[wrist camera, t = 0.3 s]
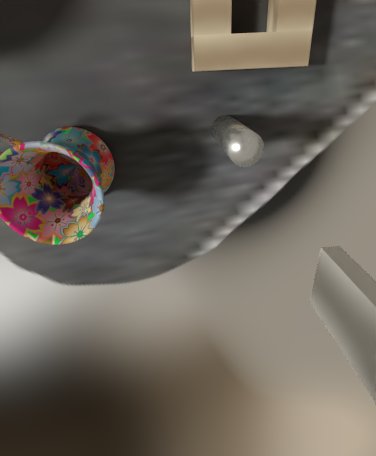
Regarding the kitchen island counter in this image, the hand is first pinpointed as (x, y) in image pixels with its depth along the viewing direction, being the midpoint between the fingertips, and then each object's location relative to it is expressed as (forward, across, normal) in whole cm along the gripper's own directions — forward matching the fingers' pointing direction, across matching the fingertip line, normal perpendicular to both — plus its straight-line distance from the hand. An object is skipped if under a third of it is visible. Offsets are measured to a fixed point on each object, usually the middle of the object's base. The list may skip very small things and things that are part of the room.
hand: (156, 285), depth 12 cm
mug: (+26, -11, 0) cm, 28 cm away
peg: (+26, +7, +2) cm, 27 cm away
